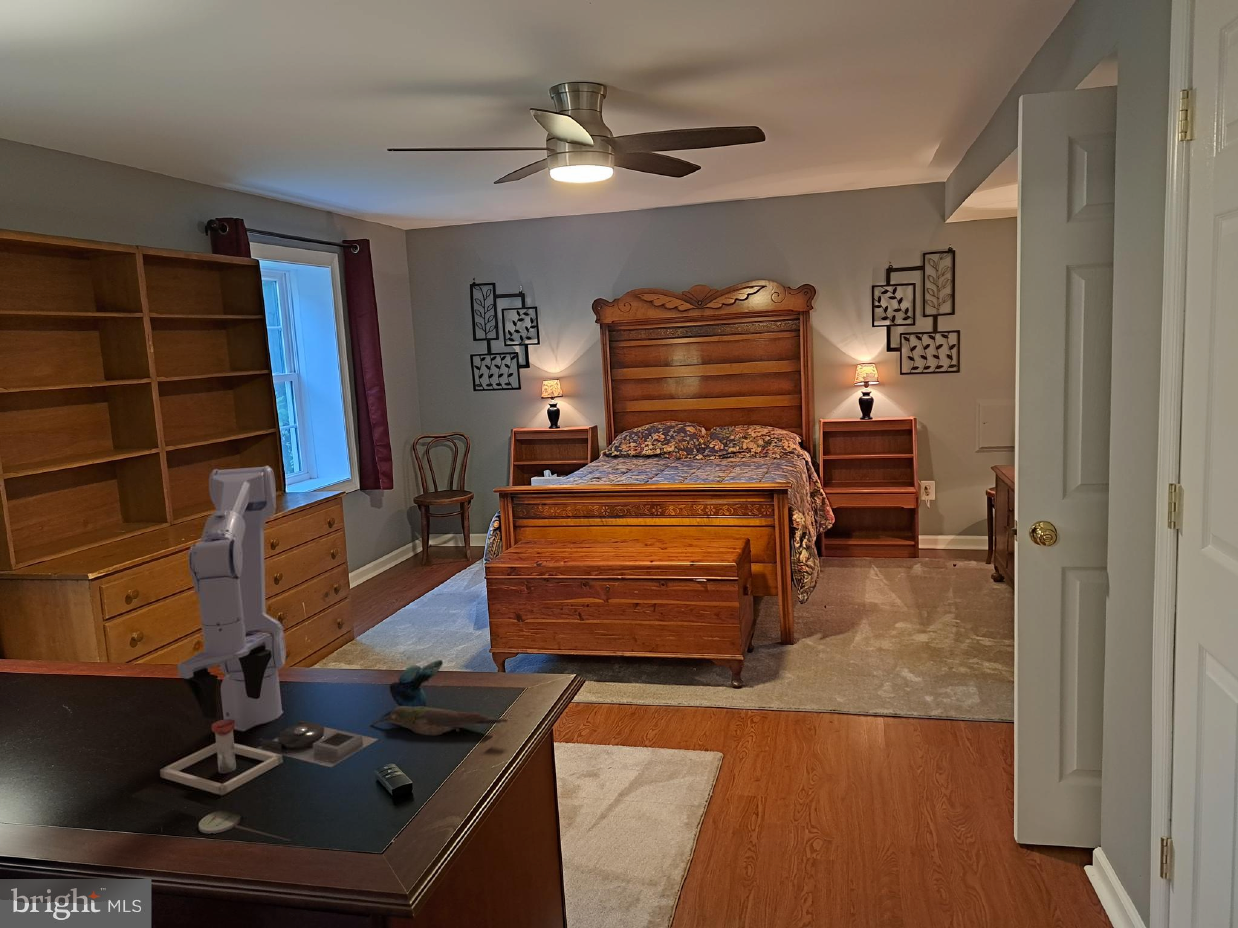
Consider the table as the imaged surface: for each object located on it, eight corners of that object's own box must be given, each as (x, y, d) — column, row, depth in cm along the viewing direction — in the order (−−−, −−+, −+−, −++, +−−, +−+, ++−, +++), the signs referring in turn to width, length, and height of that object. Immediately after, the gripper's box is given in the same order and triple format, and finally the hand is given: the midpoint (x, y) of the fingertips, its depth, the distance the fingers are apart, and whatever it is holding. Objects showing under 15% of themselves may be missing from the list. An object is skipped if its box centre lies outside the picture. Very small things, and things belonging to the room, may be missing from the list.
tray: (161, 784, 129) (159, 769, 129) (223, 753, 139) (221, 739, 138) (223, 802, 123) (221, 787, 123) (283, 769, 132) (281, 755, 132)
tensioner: (257, 755, 137) (255, 737, 137) (306, 729, 146) (304, 712, 146) (331, 774, 130) (329, 755, 130) (378, 746, 139) (377, 728, 138)
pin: (211, 776, 130) (206, 726, 129) (227, 767, 133) (223, 717, 132) (227, 779, 129) (223, 729, 128) (244, 770, 132) (240, 720, 131)
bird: (514, 734, 141) (512, 705, 140) (502, 749, 136) (500, 718, 135) (374, 724, 147) (372, 696, 146) (358, 738, 142) (355, 708, 141)
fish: (441, 721, 147) (437, 664, 146) (386, 718, 149) (381, 662, 148) (451, 710, 151) (447, 655, 150) (397, 708, 153) (393, 653, 152)
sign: (274, 848, 110) (189, 825, 116) (274, 855, 110) (190, 831, 117) (304, 827, 115) (221, 806, 121) (304, 833, 115) (222, 812, 121)
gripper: (196, 638, 121) (207, 731, 123) (281, 608, 134) (289, 693, 136) (164, 632, 125) (175, 722, 126) (250, 603, 137) (258, 686, 139)
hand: (232, 706), depth 131 cm, fingers open, 7 cm apart
